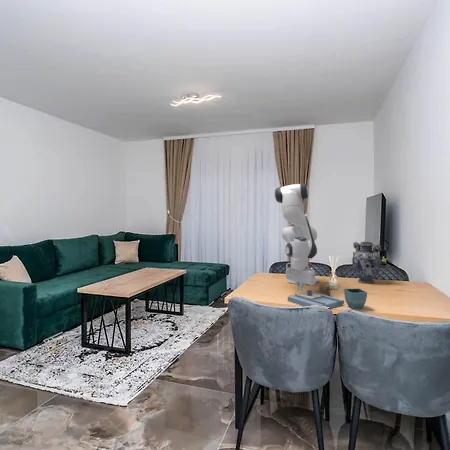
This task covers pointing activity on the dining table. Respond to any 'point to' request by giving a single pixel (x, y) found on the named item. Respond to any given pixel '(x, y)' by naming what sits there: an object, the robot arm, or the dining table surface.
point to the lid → (310, 295)
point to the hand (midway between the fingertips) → (300, 289)
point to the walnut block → (324, 290)
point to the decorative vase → (366, 261)
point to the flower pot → (355, 297)
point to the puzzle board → (316, 300)
